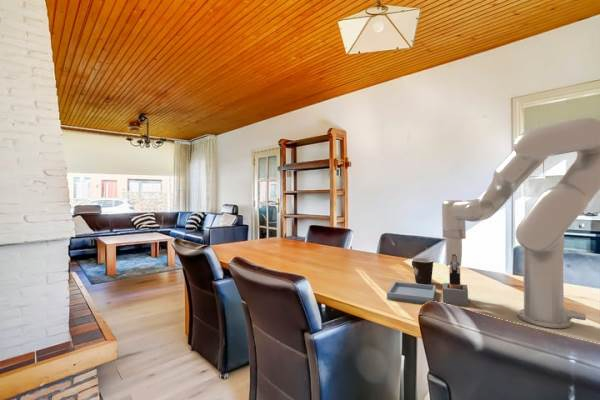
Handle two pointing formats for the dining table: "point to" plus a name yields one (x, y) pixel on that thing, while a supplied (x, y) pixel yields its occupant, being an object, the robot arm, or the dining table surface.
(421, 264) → the coffee mug
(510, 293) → the dining table surface
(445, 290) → the socket block
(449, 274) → the dowel
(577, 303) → the dining table surface
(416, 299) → the tray
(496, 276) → the dining table surface
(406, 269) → the dining table surface
